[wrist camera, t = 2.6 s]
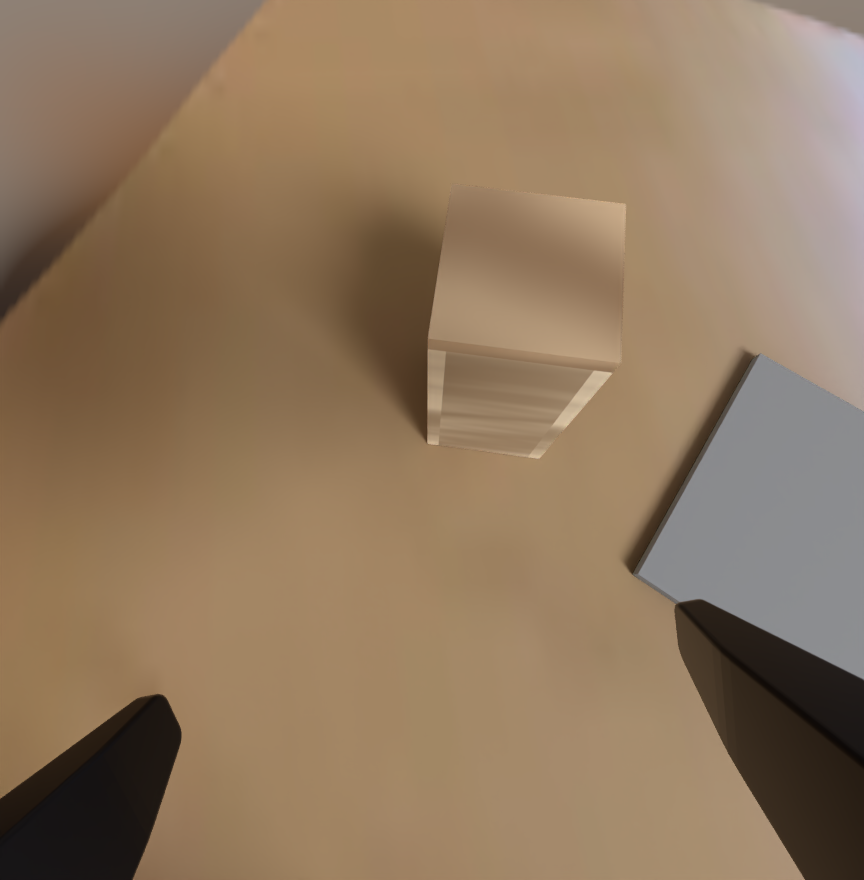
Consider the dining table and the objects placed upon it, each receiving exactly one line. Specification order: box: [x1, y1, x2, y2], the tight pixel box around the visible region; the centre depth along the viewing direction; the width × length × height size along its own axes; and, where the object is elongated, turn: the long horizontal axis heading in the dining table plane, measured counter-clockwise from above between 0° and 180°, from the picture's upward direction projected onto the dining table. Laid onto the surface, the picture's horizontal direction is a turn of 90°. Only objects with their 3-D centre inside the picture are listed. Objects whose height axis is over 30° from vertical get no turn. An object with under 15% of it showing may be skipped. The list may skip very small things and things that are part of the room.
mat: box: [632, 353, 864, 679], centre depth 21 cm, size 12×12×1 cm
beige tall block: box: [427, 183, 626, 459], centre depth 18 cm, size 5×5×10 cm
